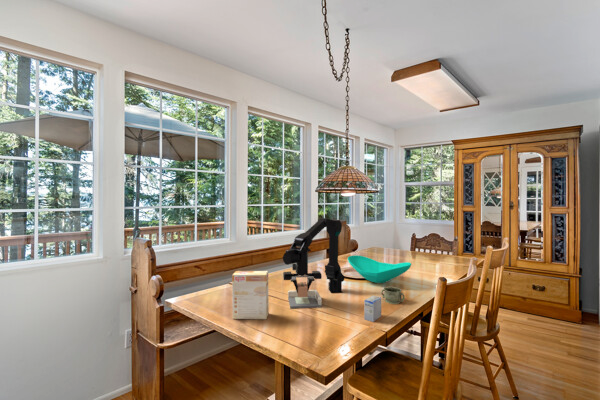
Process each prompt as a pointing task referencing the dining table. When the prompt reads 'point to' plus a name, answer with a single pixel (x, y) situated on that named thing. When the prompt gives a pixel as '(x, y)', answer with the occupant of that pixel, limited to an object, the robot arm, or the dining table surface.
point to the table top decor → (377, 268)
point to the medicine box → (372, 308)
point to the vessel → (392, 295)
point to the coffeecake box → (250, 295)
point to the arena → (304, 300)
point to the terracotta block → (302, 289)
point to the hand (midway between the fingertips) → (302, 292)
